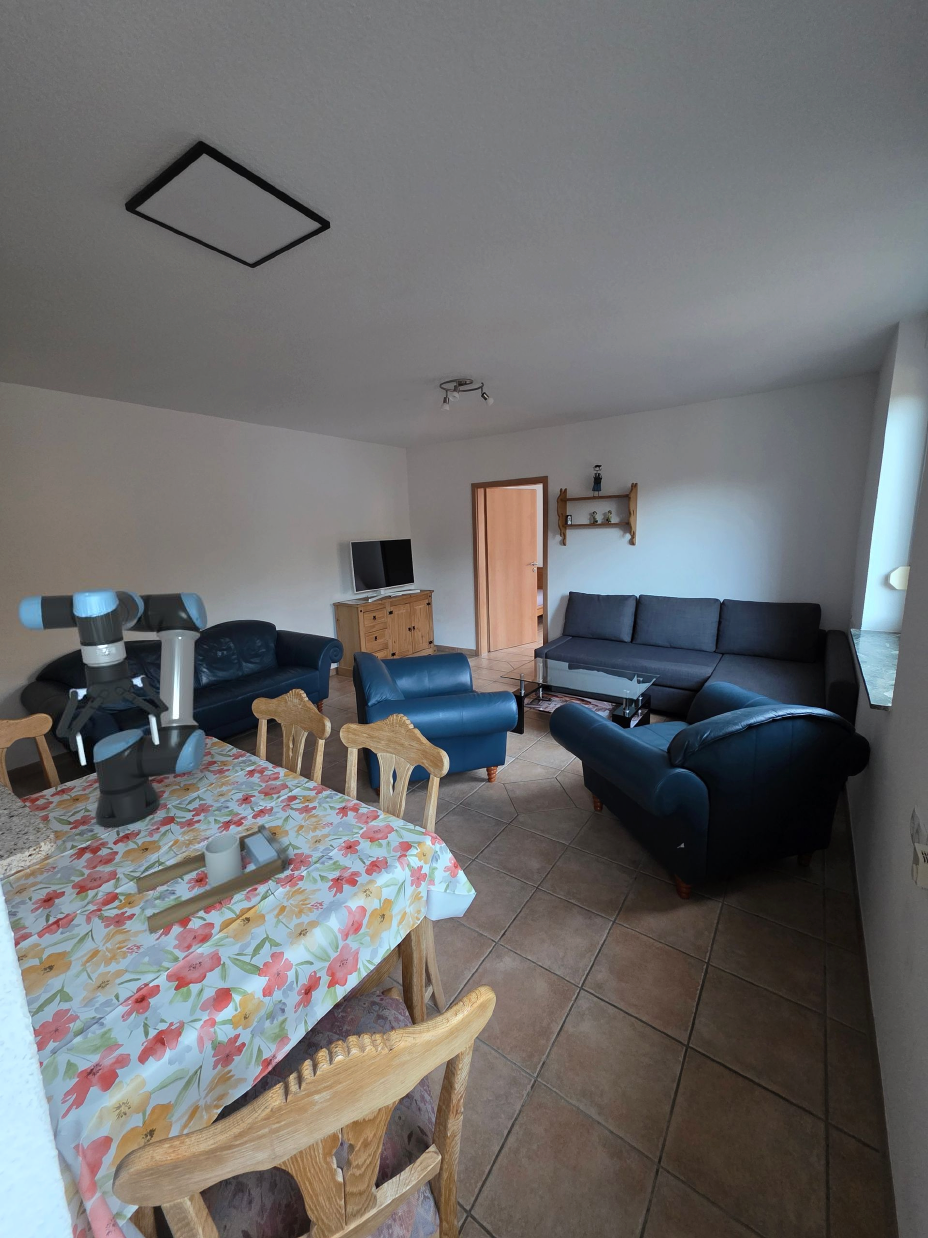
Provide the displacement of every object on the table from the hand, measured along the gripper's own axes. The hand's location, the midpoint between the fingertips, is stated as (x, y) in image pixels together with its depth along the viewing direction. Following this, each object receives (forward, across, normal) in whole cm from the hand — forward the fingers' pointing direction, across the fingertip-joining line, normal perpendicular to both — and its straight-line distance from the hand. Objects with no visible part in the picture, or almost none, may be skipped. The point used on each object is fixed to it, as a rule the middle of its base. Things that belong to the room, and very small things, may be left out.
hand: (121, 752), depth 109 cm
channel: (+30, +12, -16) cm, 36 cm away
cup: (+31, +14, -16) cm, 37 cm away
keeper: (+29, +20, -17) cm, 39 cm away
